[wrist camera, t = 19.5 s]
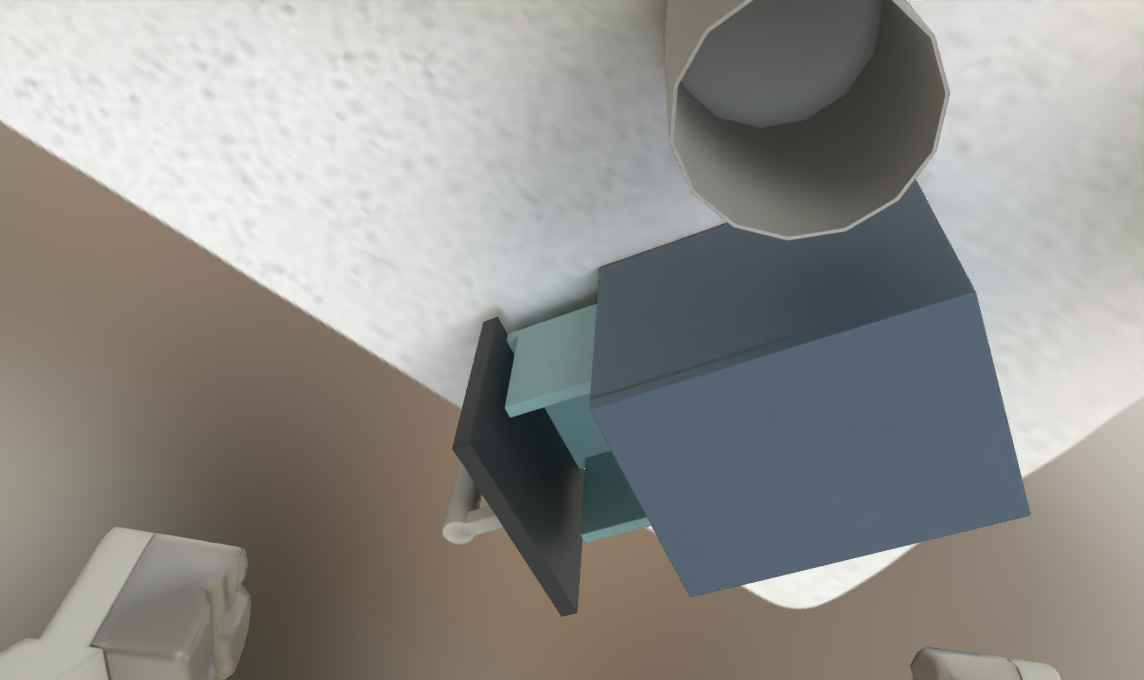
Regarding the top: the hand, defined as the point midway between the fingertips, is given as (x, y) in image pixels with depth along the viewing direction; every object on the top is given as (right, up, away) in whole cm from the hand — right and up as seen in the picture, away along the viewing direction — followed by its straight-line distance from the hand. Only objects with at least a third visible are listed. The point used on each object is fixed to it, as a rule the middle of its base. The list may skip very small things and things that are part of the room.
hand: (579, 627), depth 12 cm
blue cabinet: (+10, +5, +34) cm, 36 cm away
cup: (+8, +16, +26) cm, 32 cm away
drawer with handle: (+3, +2, +35) cm, 35 cm away
